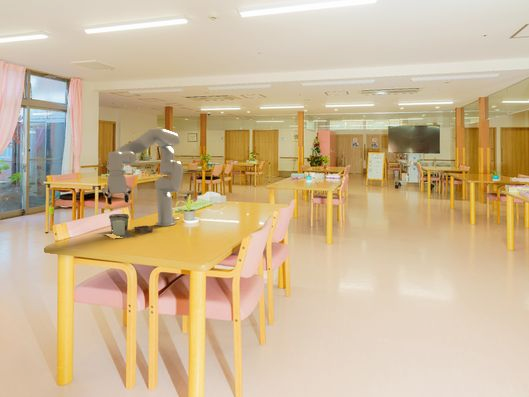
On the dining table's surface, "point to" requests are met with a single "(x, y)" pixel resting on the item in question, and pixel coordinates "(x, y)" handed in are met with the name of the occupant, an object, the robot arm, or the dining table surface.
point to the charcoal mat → (126, 235)
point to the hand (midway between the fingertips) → (118, 203)
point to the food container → (119, 217)
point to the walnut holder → (143, 229)
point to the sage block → (118, 227)
